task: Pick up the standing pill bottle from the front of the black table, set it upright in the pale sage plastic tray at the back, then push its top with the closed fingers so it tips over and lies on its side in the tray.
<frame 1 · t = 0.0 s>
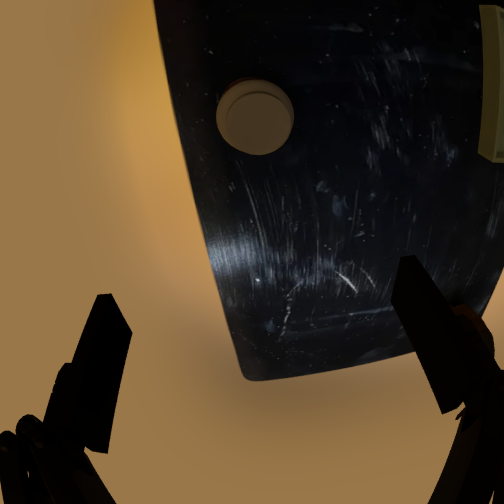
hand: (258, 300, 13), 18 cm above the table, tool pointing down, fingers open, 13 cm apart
decorative stone: (447, 304, 43), on the table
pill bottle: (250, 104, 25), on the table
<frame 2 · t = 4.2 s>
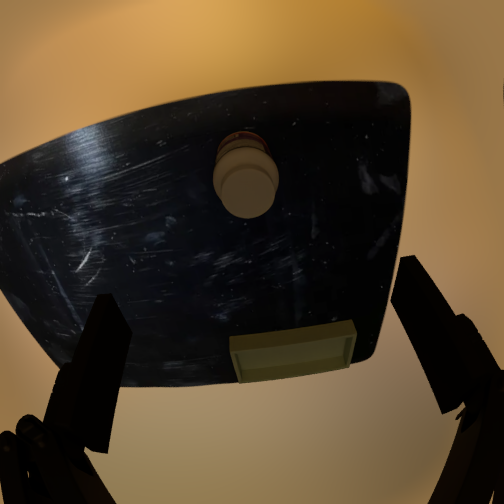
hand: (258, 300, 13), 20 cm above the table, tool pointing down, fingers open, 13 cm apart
pill bottle: (243, 154, 30), on the table
tray: (292, 347, 48), on the table
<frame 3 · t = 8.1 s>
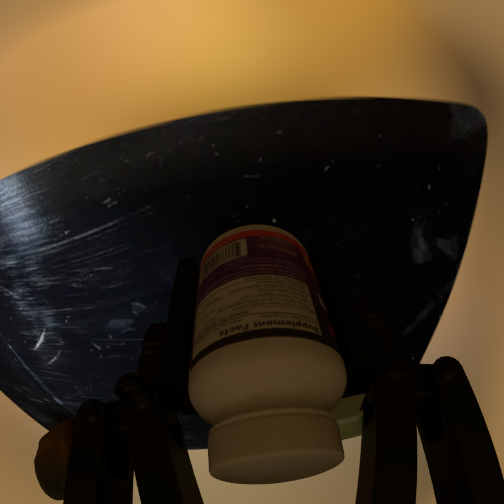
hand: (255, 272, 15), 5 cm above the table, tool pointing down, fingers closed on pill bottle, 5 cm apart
decorative stone: (69, 417, 37), on the table
pill bottle: (255, 266, 15), point 5 cm above the table, touching gripper
tray: (301, 419, 38), on the table
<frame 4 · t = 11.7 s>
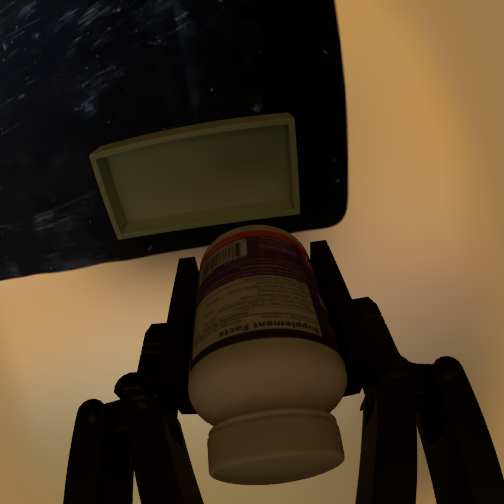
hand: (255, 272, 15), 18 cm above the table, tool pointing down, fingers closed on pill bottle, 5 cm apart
pill bottle: (255, 266, 15), point 17 cm above the table, touching gripper
tray: (197, 171, 30), on the table
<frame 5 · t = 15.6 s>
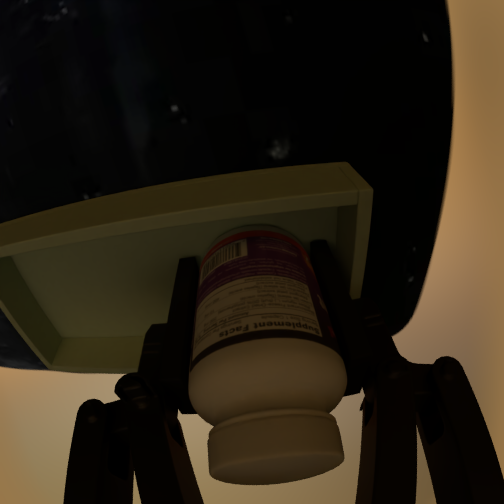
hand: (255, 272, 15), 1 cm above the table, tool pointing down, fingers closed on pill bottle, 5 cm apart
pill bottle: (255, 266, 15), resting on tray, touching gripper
tray: (159, 274, 15), on the table
when the fingers open (1 cm above the table, at t = 15.7 s): pill bottle stays where it is, resting on tray.
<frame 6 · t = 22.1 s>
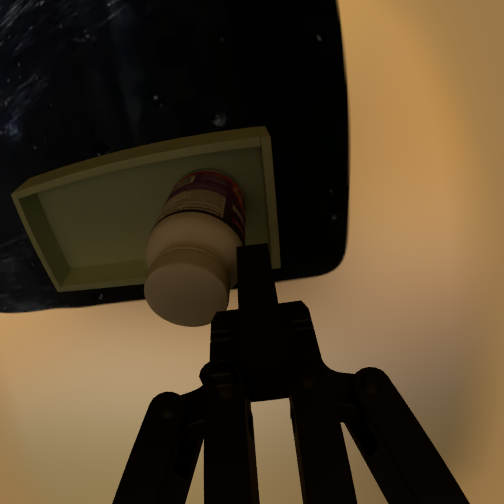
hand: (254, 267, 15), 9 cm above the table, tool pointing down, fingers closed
pill bottle: (208, 201, 22), resting on tray, touching gripper
tray: (144, 208, 22), on the table
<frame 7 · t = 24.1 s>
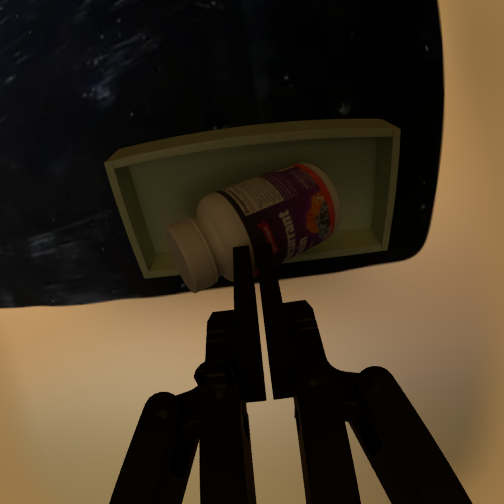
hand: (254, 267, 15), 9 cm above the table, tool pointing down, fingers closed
pill bottle: (317, 198, 20), point 3 cm above the table, touching gripper, tray
tray: (258, 188, 22), on the table
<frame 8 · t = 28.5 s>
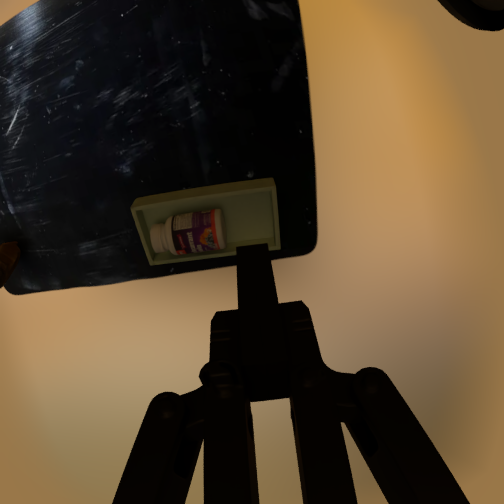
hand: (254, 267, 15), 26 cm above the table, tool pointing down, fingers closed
decorative stone: (17, 240, 43), on the table
pill bottle: (225, 227, 40), point 3 cm above the table, touching tray
tray: (208, 217, 43), on the table
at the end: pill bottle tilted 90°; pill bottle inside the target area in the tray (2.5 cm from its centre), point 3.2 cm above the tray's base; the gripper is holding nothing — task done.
